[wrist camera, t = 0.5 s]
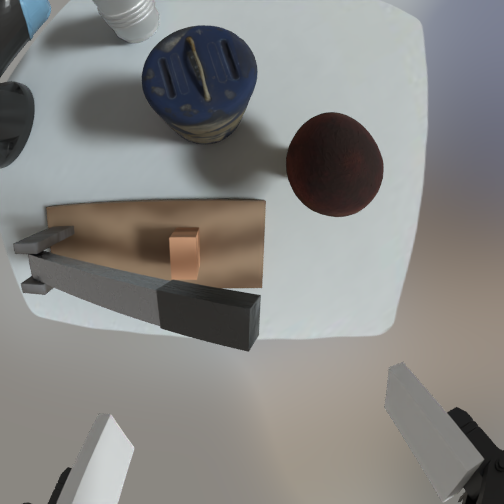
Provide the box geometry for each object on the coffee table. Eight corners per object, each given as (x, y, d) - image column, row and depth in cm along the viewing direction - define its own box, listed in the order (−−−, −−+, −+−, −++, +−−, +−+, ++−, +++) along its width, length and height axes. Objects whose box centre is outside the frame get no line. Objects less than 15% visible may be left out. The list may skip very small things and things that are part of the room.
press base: (53, 205, 34) (5, 220, 23) (263, 199, 38) (282, 212, 26) (62, 279, 38) (23, 312, 26) (260, 282, 41) (275, 323, 30)
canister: (172, 148, 35) (132, 129, 17) (170, 83, 32) (136, 23, 15) (243, 143, 36) (264, 118, 18) (241, 78, 33) (258, 13, 16)
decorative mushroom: (258, 190, 38) (281, 202, 23) (282, 116, 35) (318, 86, 21) (329, 214, 40) (384, 239, 25) (351, 144, 37) (414, 137, 23)
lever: (37, 246, 28) (24, 251, 26) (260, 292, 19) (250, 306, 17) (42, 273, 28) (29, 278, 26) (258, 337, 20) (248, 353, 18)
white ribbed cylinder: (136, 7, 27) (108, -46, 13) (171, 17, 29) (153, -41, 14) (109, 39, 28) (69, -6, 14) (144, 51, 30) (111, 0, 15)
